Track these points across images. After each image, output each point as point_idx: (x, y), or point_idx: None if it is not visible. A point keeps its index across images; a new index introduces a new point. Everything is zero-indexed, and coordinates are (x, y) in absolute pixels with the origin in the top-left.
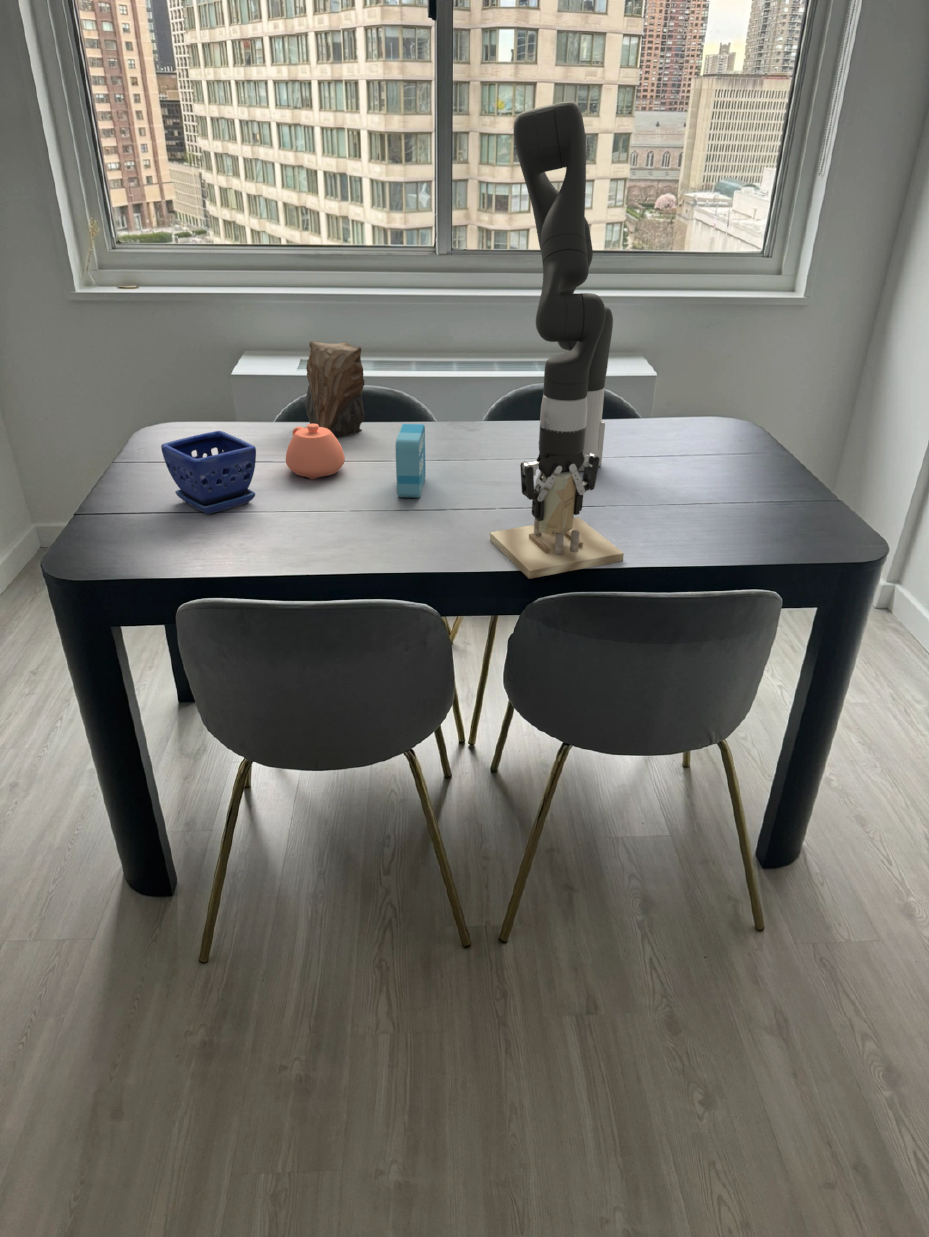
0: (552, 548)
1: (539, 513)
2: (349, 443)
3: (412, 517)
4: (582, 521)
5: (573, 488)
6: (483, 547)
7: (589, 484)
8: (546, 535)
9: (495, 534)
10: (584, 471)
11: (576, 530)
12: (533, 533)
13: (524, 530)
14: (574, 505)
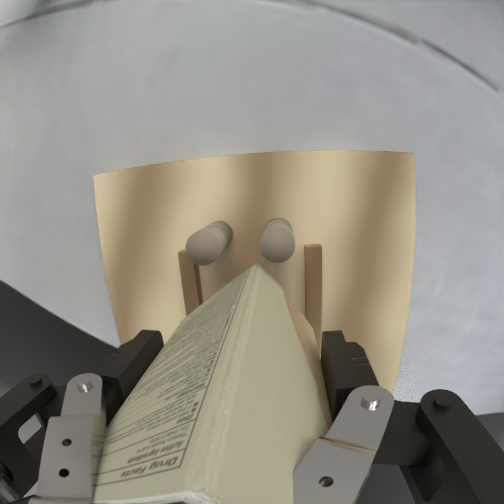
0: None
1: None
2: None
3: (30, 43)
4: (412, 188)
5: None
6: (83, 214)
7: (405, 476)
8: (246, 249)
9: (101, 194)
10: (455, 471)
11: None
12: (209, 221)
13: (189, 188)
14: (325, 384)
